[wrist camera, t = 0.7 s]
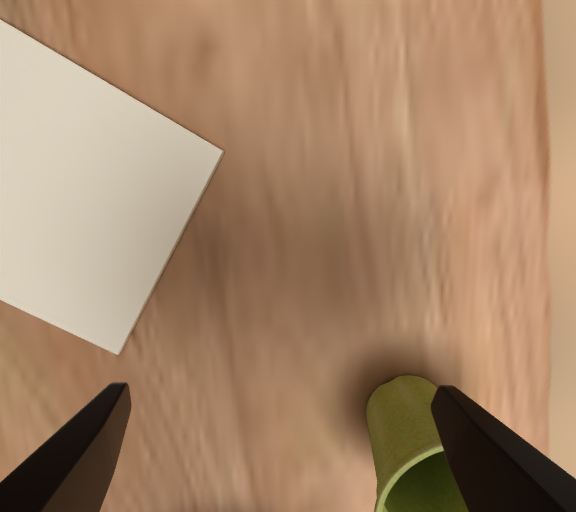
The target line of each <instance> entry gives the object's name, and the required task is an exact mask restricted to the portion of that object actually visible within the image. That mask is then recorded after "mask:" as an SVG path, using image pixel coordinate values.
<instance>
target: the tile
mask: <svg viewBox="0 0 576 512" xmlns="http://www.w3.org/2000/svg"><path fill="white" fill-rule="evenodd" d="M224 153H225V152H224V151H223V150H221V149H219V148H218V147H216V146H214V145H213V144H211V143H209V142H208V141H206V140H204V139H202V138H201V137H199V136H197V135H196V134H194V133H192V132H191V131H189V130H187V129H185V128H184V127H182V126H180V125H179V124H177V123H175V122H174V121H172V120H170V119H169V118H167V117H165V116H163V115H162V114H160V113H158V112H157V111H155V110H153V109H152V108H150V107H148V106H146V105H145V104H143V103H141V102H140V101H138V100H136V99H135V98H133V97H131V96H130V95H128V94H126V93H124V92H123V91H121V90H119V89H118V88H116V87H114V86H113V85H111V84H109V83H107V82H106V81H104V80H102V79H101V78H99V77H97V76H96V75H94V74H92V73H91V72H89V71H87V70H85V69H84V68H82V67H80V66H79V65H77V64H75V63H74V62H72V61H70V60H68V59H67V58H65V57H63V56H62V55H60V54H58V53H57V52H55V51H53V50H52V49H50V48H48V47H46V46H45V45H43V44H41V43H40V42H38V41H36V40H35V39H33V38H31V37H29V36H28V35H26V34H24V33H23V32H21V31H19V30H18V29H16V28H14V27H13V26H11V25H9V24H7V23H6V22H4V21H2V20H1V19H0V300H2V301H4V302H6V303H8V304H10V305H12V306H15V307H17V308H19V309H21V310H23V311H25V312H27V313H29V314H32V315H34V316H36V317H38V318H40V319H42V320H44V321H46V322H49V323H51V324H53V325H55V326H57V327H59V328H61V329H63V330H66V331H68V332H70V333H72V334H74V335H76V336H78V337H80V338H82V339H85V340H87V341H89V342H91V343H93V344H95V345H97V346H99V347H102V348H104V349H106V350H108V351H110V352H112V353H114V354H116V355H119V353H120V352H121V351H122V350H123V349H124V347H125V345H126V343H127V341H128V339H129V337H130V335H131V333H132V331H133V329H134V327H135V325H136V323H137V321H138V319H139V318H140V316H141V314H142V312H143V310H144V308H145V306H146V304H147V302H148V300H149V298H150V296H151V294H152V292H153V290H154V288H155V287H156V285H157V283H158V281H159V279H160V277H161V275H162V273H163V271H164V269H165V267H166V265H167V263H168V261H169V259H170V257H171V256H172V254H173V252H174V250H175V248H176V246H177V244H178V242H179V240H180V238H181V236H182V234H183V232H184V230H185V228H186V226H187V224H188V223H189V221H190V219H191V217H192V215H193V213H194V211H195V209H196V207H197V205H198V203H199V201H200V199H201V197H202V195H203V193H204V192H205V190H206V188H207V186H208V184H209V182H210V180H211V178H212V176H213V174H214V172H215V170H216V168H217V166H218V164H219V162H220V161H221V159H222V157H223V155H224Z"/></svg>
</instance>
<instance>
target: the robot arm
mask: <svg viewBox="0 0 576 512" xmlns="http://www.w3.org/2000/svg"><path fill="white" fill-rule="evenodd" d="M130 411H131V398H130V391H129V385H128V384H127V383H125V382H113V383H111V384H109V385H108V386H107V387H106V388H105V389H104V390H102V391H101V392H100V393H99V394H98V395H97V396H96V397H95V398H94V399H92V400H91V401H90V402H89V403H88V404H87V405H86V406H85V407H84V408H82V409H81V410H80V411H79V412H78V413H77V414H76V415H75V416H74V417H72V418H71V419H70V420H69V421H68V422H67V423H66V424H65V425H64V426H62V427H61V428H60V429H59V430H58V431H57V432H56V433H55V434H54V435H52V436H51V437H50V438H49V439H48V440H47V441H46V442H45V443H44V444H42V445H41V446H40V447H39V448H38V449H37V450H36V451H35V452H34V453H32V454H31V455H30V456H29V457H28V458H27V459H26V460H25V461H24V462H22V463H21V464H20V465H19V466H18V467H17V468H16V469H15V470H14V471H12V472H11V473H10V474H9V475H8V476H7V477H6V478H5V479H4V480H2V481H1V482H0V512H99V511H100V509H101V506H102V504H103V501H104V498H105V496H106V493H107V490H108V488H109V485H110V483H111V480H112V477H113V474H114V471H115V468H116V464H117V460H118V457H119V453H120V449H121V445H122V442H123V438H124V434H125V430H126V427H127V423H128V419H129V416H130ZM431 413H432V416H433V419H434V422H435V425H436V428H437V431H438V434H439V437H440V440H441V443H442V447H443V450H444V453H445V456H446V458H447V461H448V464H449V467H450V469H451V471H452V474H453V476H454V478H455V481H456V483H457V485H458V488H459V490H460V492H461V495H462V497H463V499H464V502H465V504H466V506H467V509H468V511H469V512H576V479H575V478H574V477H572V476H571V475H569V474H568V473H567V472H566V471H564V470H563V469H562V468H561V467H559V466H558V465H557V464H555V463H554V462H552V461H551V460H550V459H549V458H548V457H546V456H545V455H544V454H542V453H541V452H540V451H538V450H537V449H536V448H534V447H533V446H532V445H531V444H529V443H528V442H527V441H525V440H524V439H523V438H521V437H520V436H519V435H517V434H516V433H515V432H513V431H512V430H511V429H510V428H508V427H507V426H506V425H504V424H503V423H502V422H500V421H499V420H498V419H496V418H495V417H494V416H493V415H491V414H490V413H489V412H487V411H486V410H485V409H483V408H482V407H481V406H479V405H478V404H477V403H476V402H474V401H473V400H472V399H470V398H469V397H468V396H466V395H465V394H464V393H462V392H461V391H460V390H459V389H457V388H456V387H454V386H452V385H440V386H439V387H438V388H437V390H436V393H435V395H434V397H433V400H432V402H431Z"/></svg>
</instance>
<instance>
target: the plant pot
mask: <svg viewBox="0 0 576 512" xmlns="http://www.w3.org/2000/svg"><path fill="white" fill-rule="evenodd" d="M436 390H437V387H436V386H435V385H434V384H433V383H432V382H430V381H428V380H427V379H425V378H422V377H419V376H414V375H403V376H398V377H396V378H395V379H393V380H392V381H390V382H388V383H385V384H383V385H380V386H379V387H377V389H376V390H375V391H374V392H373V393H372V395H371V396H370V398H369V401H368V403H367V407H366V419H367V424H368V430H369V436H370V441H371V447H372V453H373V459H374V465H375V470H376V476H377V500H376V504H375V509H374V512H469V511H468V509H467V506H466V504H465V502H464V499H463V497H462V495H461V492H460V490H459V488H458V485H457V483H456V481H455V478H454V476H453V474H452V471H451V469H450V467H449V464H448V461H447V458H446V456H445V453H444V450H443V447H442V443H441V440H440V437H439V434H438V431H437V428H436V425H435V422H434V419H433V416H432V413H431V402H432V400H433V397H434V395H435V393H436Z"/></svg>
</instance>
